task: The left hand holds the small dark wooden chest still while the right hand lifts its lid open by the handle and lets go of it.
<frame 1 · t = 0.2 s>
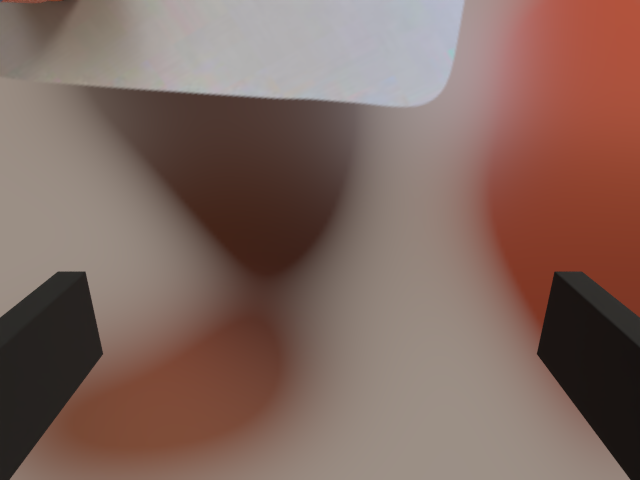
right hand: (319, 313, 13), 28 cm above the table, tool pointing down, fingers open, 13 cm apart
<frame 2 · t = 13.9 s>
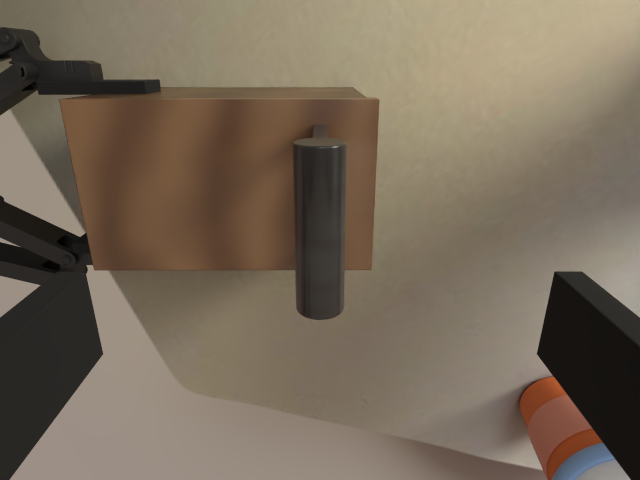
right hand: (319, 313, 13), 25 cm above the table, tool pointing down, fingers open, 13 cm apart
lid: (213, 208, 22), point 15 cm above the table, hinge at 0.0°
cup with straw: (548, 399, 45), on the table
chest: (251, 151, 36), on the table, touching left hand
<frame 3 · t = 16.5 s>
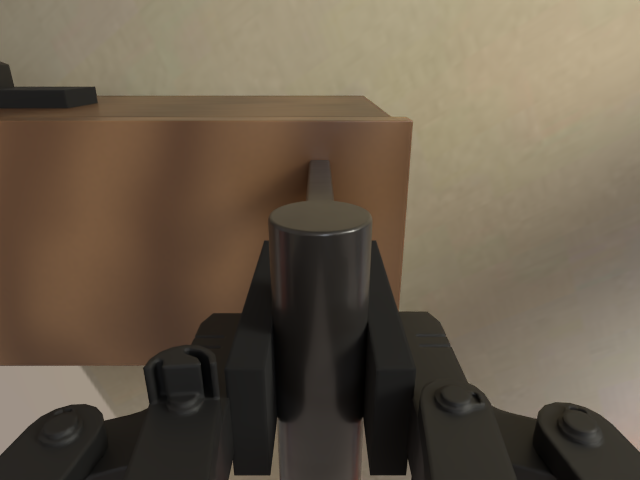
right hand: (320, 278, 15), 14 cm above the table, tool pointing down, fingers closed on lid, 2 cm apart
lid: (148, 298, 14), point 15 cm above the table, hinge at -0.1°, touching right hand
chest: (231, 178, 28), on the table, touching left hand
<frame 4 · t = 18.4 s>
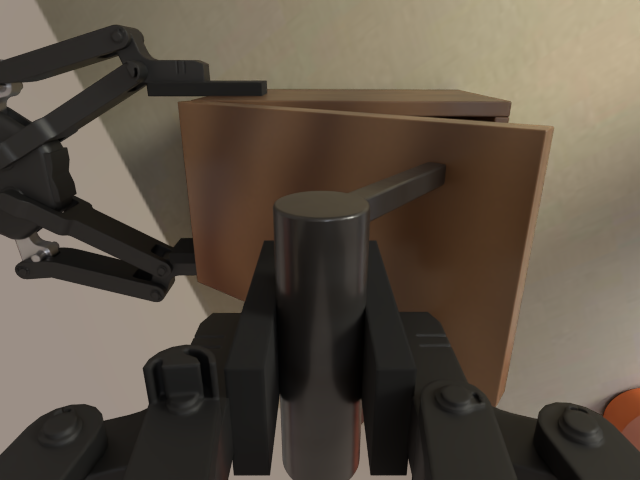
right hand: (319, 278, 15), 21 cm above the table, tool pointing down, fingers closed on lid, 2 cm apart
left hand: (268, 174, 29), fingers closed on chest, 10 cm apart
lid: (260, 255, 17), point 19 cm above the table, hinge at 34.5°, touching right hand
cup with straw: (632, 410, 44), on the table
chest: (344, 156, 34), on the table, touching left hand
when the left hand's fingers open (6 cm above the table, at t = 24.4 s): chest stays where it is, on the table.
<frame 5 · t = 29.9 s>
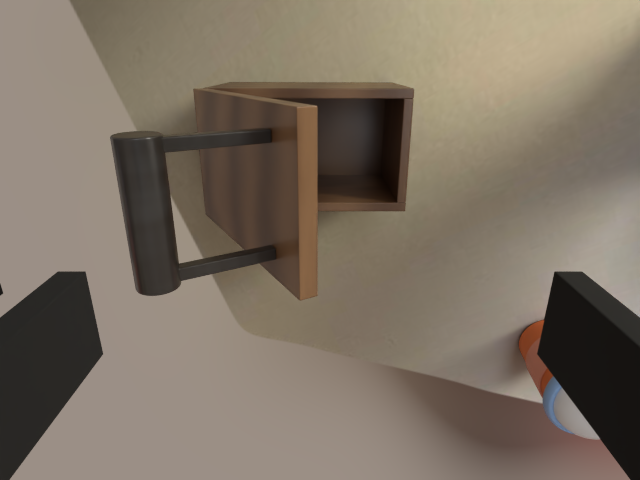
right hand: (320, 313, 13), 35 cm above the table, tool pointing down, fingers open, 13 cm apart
lid: (187, 182, 27), point 20 cm above the table, hinge at 59.9°
cup with straw: (542, 339, 55), on the table
chest: (311, 133, 46), on the table
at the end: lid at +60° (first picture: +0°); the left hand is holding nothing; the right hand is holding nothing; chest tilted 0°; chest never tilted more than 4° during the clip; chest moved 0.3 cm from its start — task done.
